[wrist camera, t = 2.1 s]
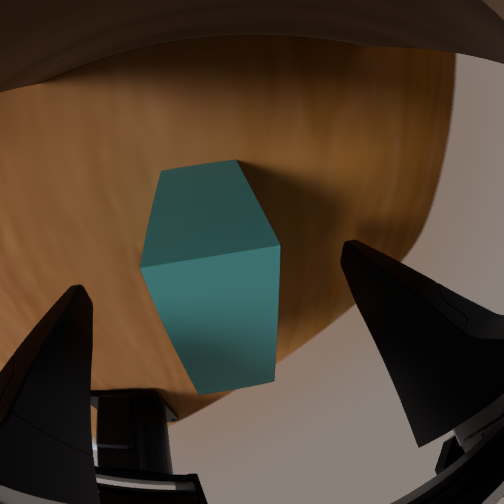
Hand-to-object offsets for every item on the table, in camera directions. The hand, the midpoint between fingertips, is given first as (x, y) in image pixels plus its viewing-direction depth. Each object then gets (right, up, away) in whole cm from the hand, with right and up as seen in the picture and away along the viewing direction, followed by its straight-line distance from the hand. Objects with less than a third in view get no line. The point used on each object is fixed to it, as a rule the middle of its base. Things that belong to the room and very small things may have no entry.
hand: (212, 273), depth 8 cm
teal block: (0, +1, +2) cm, 2 cm away
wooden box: (0, +11, -6) cm, 13 cm away
